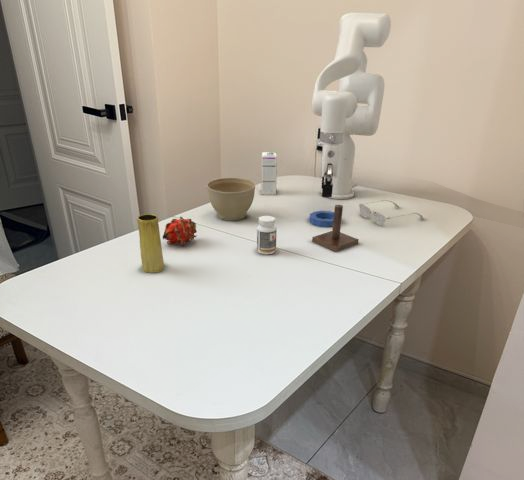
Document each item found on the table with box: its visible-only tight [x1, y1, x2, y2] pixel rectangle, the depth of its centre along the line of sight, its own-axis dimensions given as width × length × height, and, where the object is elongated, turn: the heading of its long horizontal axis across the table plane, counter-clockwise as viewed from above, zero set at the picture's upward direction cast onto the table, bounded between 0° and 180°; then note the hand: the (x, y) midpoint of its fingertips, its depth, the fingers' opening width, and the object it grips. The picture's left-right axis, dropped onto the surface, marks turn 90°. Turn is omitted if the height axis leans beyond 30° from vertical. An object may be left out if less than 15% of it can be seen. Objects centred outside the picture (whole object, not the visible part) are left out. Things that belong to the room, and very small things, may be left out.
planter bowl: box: [206, 177, 256, 221], centre depth 167 cm, size 16×16×11 cm
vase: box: [136, 213, 166, 274], centre depth 131 cm, size 6×6×14 cm
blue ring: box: [308, 210, 334, 228], centre depth 167 cm, size 10×10×2 cm
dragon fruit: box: [162, 216, 198, 247], centre depth 147 cm, size 8×8×12 cm
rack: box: [311, 204, 359, 253], centre depth 149 cm, size 10×10×12 cm
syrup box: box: [260, 151, 278, 196], centre depth 189 cm, size 6×6×14 cm
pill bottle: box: [256, 215, 277, 255], centre depth 143 cm, size 6×6×10 cm
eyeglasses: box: [358, 199, 425, 226], centre depth 171 cm, size 15×18×4 cm
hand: (326, 192), depth 165 cm, fingers open, 9 cm apart
